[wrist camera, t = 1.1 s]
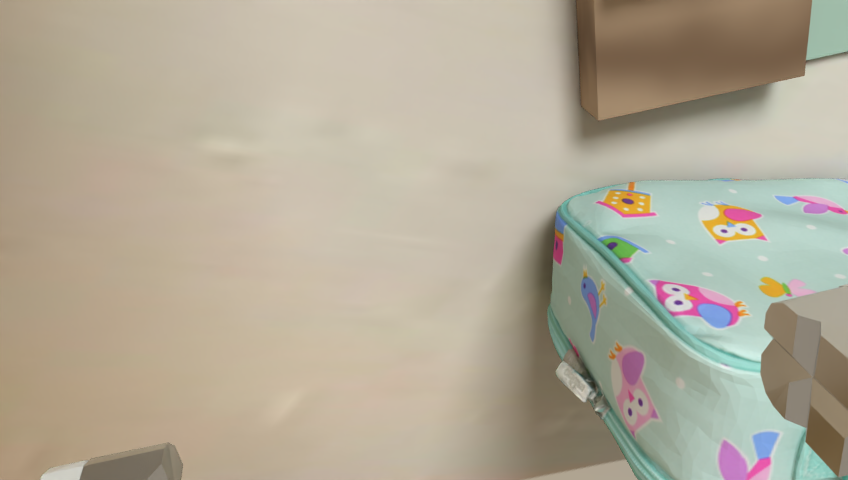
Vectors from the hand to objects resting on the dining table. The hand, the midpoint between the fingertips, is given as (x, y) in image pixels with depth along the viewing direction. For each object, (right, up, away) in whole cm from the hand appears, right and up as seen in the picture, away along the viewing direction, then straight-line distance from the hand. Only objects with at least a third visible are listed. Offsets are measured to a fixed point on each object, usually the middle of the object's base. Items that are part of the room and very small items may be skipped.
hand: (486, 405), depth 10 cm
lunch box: (+17, +2, +39) cm, 43 cm away
